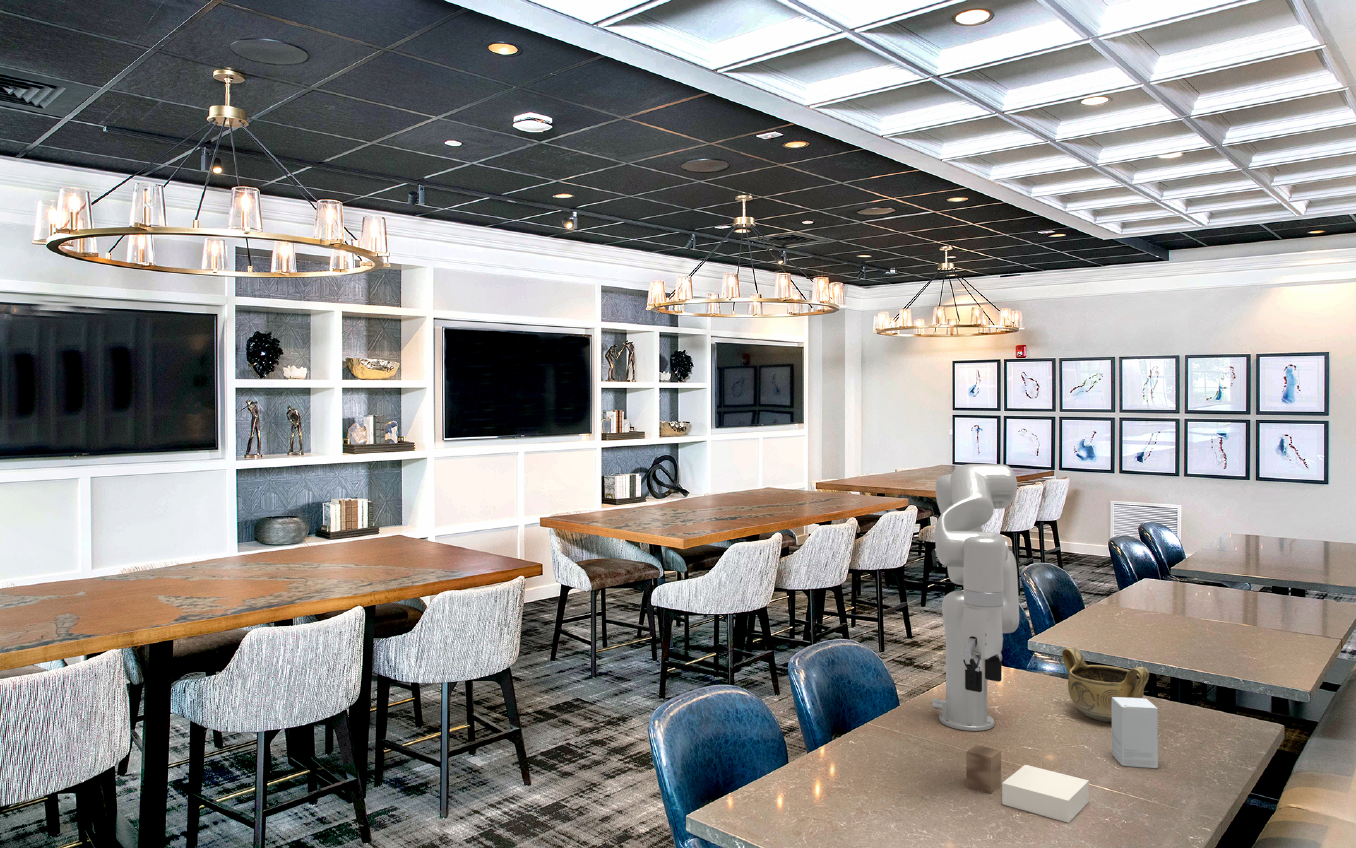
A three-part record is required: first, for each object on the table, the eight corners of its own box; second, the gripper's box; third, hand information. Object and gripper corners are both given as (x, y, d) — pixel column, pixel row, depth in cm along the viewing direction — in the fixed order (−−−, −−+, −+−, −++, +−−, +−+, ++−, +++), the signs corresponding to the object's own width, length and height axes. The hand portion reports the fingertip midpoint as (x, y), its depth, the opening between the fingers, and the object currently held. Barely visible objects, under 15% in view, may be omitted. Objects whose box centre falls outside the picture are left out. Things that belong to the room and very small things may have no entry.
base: (1002, 804, 167) (1002, 783, 167) (1025, 784, 176) (1025, 764, 176) (1068, 823, 159) (1068, 800, 159) (1089, 801, 168) (1088, 780, 168)
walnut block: (966, 786, 175) (966, 751, 175) (976, 779, 179) (976, 744, 179) (991, 793, 172) (991, 757, 172) (1001, 786, 175) (1001, 750, 175)
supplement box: (1159, 769, 184) (1158, 708, 184) (1120, 766, 185) (1120, 706, 185) (1147, 756, 191) (1147, 697, 191) (1110, 753, 193) (1110, 695, 193)
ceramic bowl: (1043, 709, 223) (1043, 650, 223) (1090, 700, 230) (1090, 642, 230) (1122, 737, 203) (1121, 672, 203) (1170, 726, 210) (1170, 663, 210)
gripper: (982, 591, 184) (982, 673, 184) (946, 602, 171) (946, 691, 171) (1018, 595, 179) (1018, 680, 179) (984, 607, 166) (984, 699, 166)
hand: (983, 685), depth 175 cm, fingers open, 9 cm apart
